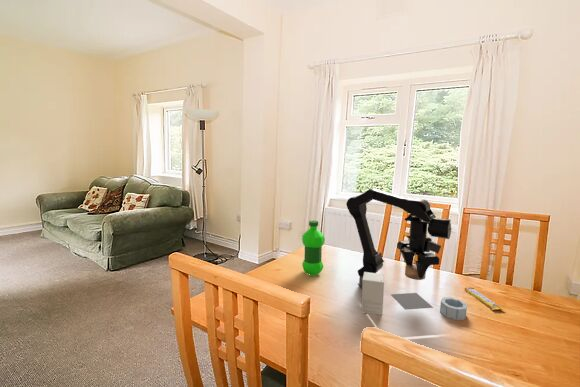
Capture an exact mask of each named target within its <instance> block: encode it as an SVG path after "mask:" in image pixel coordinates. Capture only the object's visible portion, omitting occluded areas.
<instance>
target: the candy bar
mask: <svg viewBox="0 0 580 387" xmlns="http://www.w3.org/2000/svg"><path fill="white" fill-rule="evenodd" d="M464 291H465V292H467V293H468V294H469V295H470V296H472V297H474V298H475V299H476V300H477V301H479V302H480V303H481V304H483V305H485V307H487V308H489V309H490V310H492V311H493V310H494V311H496V310H500V311H504V309H503V308H502V307H501V306H499V305H498V304H496V303H495V302H494V301H492V300H491V299H489V298H487V297H486V296H485V295H483V294H482V293H480V292H479V291H478V290H476V289H475V287H468V288H467V287H465V288H464Z"/></svg>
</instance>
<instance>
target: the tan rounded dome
mask: <svg viewBox="0 0 580 387" xmlns="http://www.w3.org/2000/svg"><path fill="white" fill-rule="evenodd" d="M404 270H405V271H404V275H405V277H406V278H408V279H412V280H416V281H422V280H425V279H426V272H427V271H426V272H425V274H424V276H423V278H419V275H418V271H417V266H416V264H413V265H406V264H405V268H404Z"/></svg>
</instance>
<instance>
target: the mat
mask: <svg viewBox="0 0 580 387" xmlns="http://www.w3.org/2000/svg"><path fill="white" fill-rule="evenodd" d="M390 295H391V297H393V299H394V300H395V301H396V302H397V303H398V304H399V305H400V306H401V307H402V308H403V309H404V310H417V309H430V308H434V306H432V305H431V304H430V303H429V302H428V301H427V300H426V299H424V298H423V297H422V296H420V294H418V293H417V292H409V293H391V294H390Z"/></svg>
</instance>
